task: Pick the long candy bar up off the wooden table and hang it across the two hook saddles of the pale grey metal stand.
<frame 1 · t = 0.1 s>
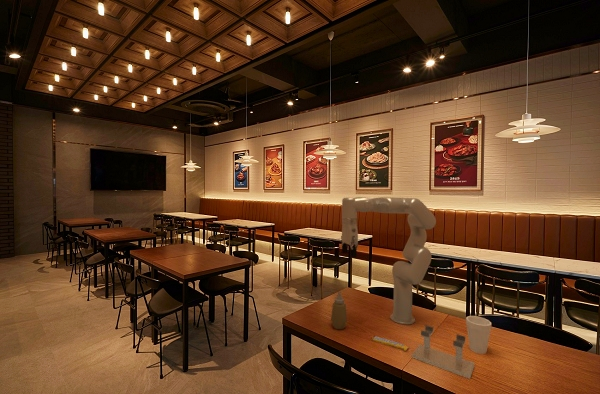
hand: (348, 254, 142), 37 cm above the table, tool pointing down, fingers open, 9 cm apart
foam cup: (478, 350, 122), on the table
candy bar: (389, 345, 127), on the table
squeeze bottle: (339, 327, 142), on the table
hook stand: (442, 361, 113), on the table
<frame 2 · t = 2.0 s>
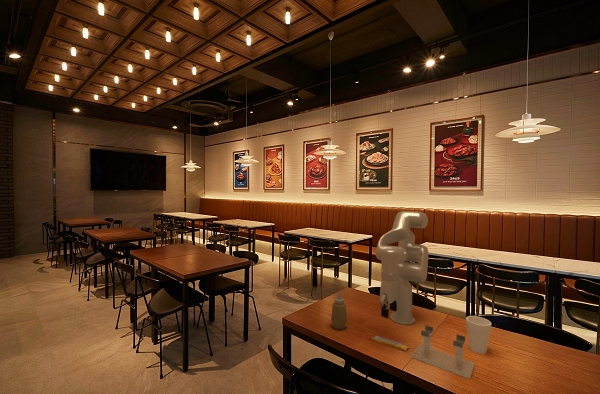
hand: (389, 313, 126), 14 cm above the table, tool pointing down, fingers open, 9 cm apart
nothing on the table moved.
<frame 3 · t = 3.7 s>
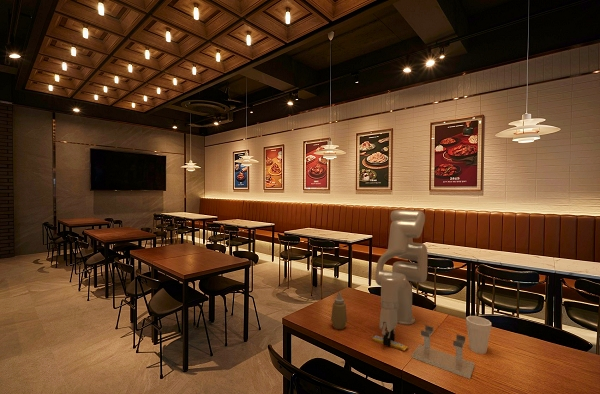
hand: (388, 343, 126), 0 cm above the table, tool pointing down, fingers closed on candy bar, 4 cm apart
candy bar: (388, 344, 127), on the table, touching gripper
everything else where it was.
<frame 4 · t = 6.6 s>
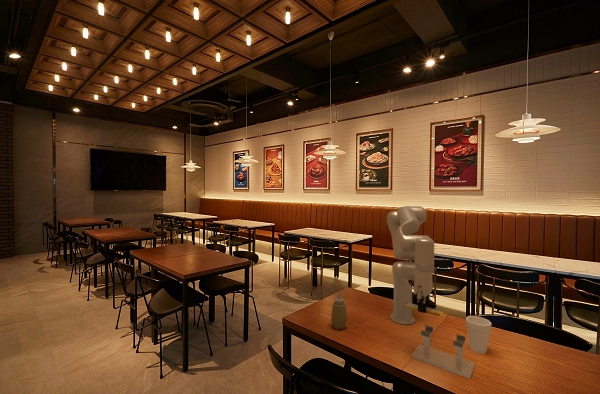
hand: (423, 310, 117), 19 cm above the table, tool pointing down, fingers closed on candy bar, 4 cm apart
candy bar: (423, 311, 118), point 19 cm above the table, touching gripper
everything else where it was.
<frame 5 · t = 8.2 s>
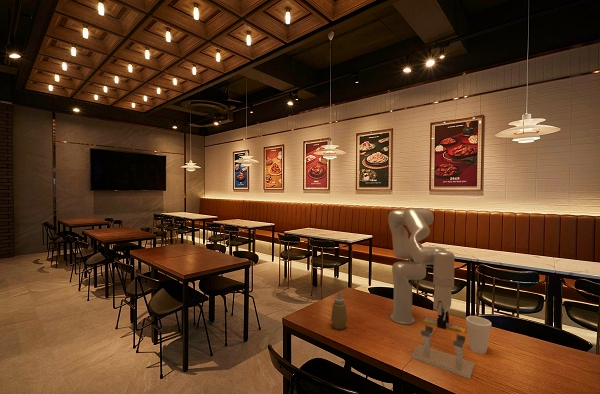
hand: (443, 325, 113), 15 cm above the table, tool pointing down, fingers closed on candy bar, 4 cm apart
candy bar: (442, 327, 113), point 14 cm above the table, touching gripper
everything else where it was.
when the fingers open (11 cm above the table, at t = 9.4 s): candy bar stays where it is, resting on hook stand.
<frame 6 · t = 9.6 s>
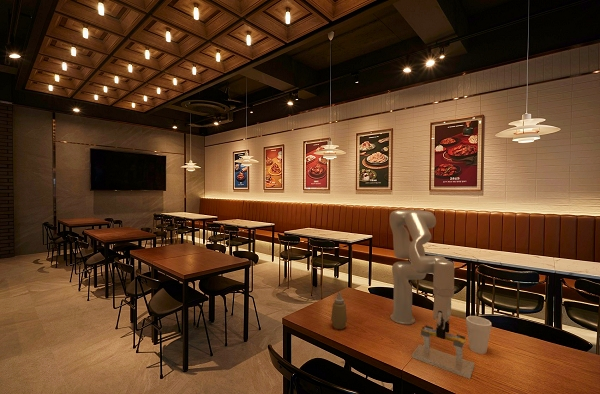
hand: (442, 334, 113), 11 cm above the table, tool pointing down, fingers open, 6 cm apart
candy bar: (442, 337, 114), point 10 cm above the table, touching hook stand
everything else where it was.
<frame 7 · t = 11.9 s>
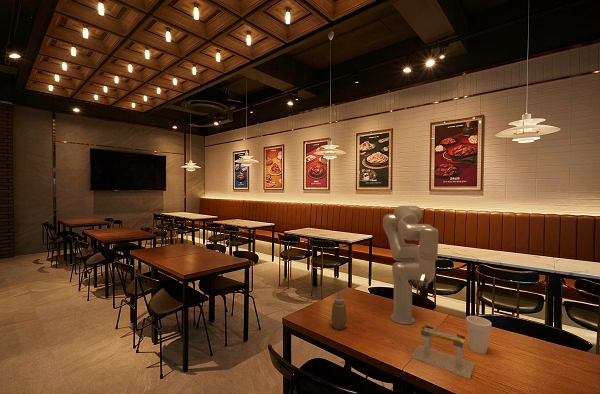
hand: (426, 293, 123), 25 cm above the table, tool pointing down, fingers open, 9 cm apart
nothing on the table moved.
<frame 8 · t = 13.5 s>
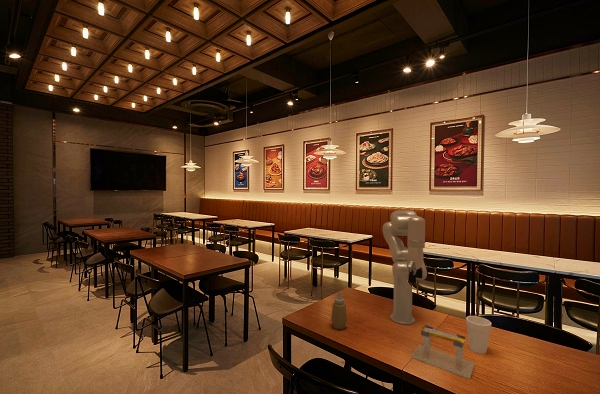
hand: (415, 280, 130), 28 cm above the table, tool pointing down, fingers open, 9 cm apart
nothing on the table moved.
at the end: candy bar 0.4 cm off-centre on the hook stand, point 9.8 cm above the hook stand's base; candy bar tilted 0°; the gripper is holding nothing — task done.
